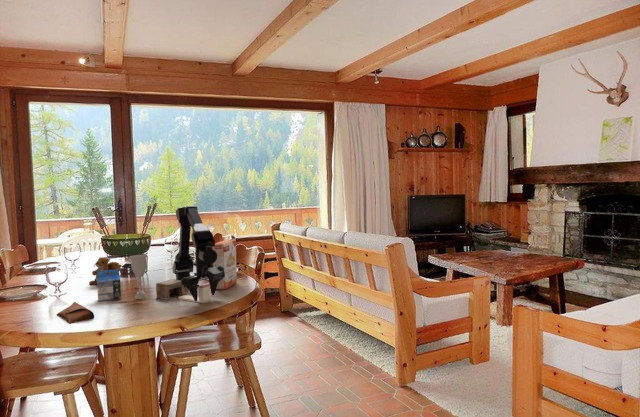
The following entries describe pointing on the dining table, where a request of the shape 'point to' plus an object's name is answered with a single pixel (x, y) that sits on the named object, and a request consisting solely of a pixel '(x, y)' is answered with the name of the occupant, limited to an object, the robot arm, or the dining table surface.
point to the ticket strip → (200, 294)
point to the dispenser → (169, 288)
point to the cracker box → (226, 262)
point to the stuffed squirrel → (104, 267)
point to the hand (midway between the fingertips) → (204, 298)
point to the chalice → (139, 272)
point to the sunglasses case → (76, 313)
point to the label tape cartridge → (108, 285)
